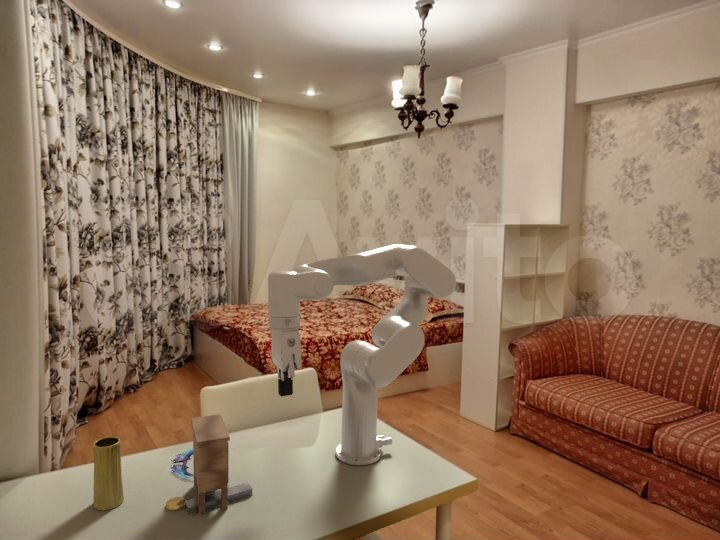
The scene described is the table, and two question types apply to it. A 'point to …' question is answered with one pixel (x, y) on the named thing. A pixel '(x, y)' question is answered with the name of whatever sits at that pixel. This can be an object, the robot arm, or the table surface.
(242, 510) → the table surface
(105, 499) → the vase
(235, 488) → the bar
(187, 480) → the decorative blades
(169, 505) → the token
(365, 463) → the robot arm
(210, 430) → the cabinet
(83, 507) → the table surface
